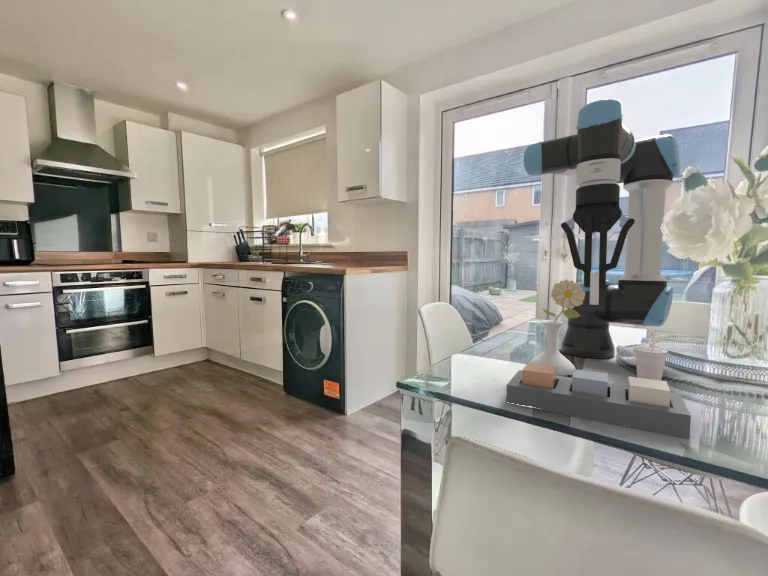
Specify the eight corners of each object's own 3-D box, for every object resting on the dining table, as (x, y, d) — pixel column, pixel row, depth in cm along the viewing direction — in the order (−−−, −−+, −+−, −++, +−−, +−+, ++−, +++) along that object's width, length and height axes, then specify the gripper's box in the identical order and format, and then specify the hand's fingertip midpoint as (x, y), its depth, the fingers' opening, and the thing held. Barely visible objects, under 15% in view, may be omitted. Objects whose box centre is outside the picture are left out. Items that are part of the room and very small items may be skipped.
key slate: (574, 392, 79) (574, 369, 78) (607, 397, 75) (607, 373, 75) (571, 401, 74) (572, 376, 73) (606, 407, 70) (607, 382, 70)
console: (518, 386, 88) (518, 370, 87) (678, 413, 72) (679, 393, 71) (506, 403, 77) (506, 384, 77) (689, 438, 62) (690, 415, 61)
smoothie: (672, 396, 80) (675, 333, 79) (639, 394, 82) (642, 332, 81) (656, 386, 87) (659, 328, 85) (626, 385, 88) (629, 327, 87)
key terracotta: (527, 384, 84) (527, 363, 83) (556, 389, 80) (556, 366, 80) (521, 392, 78) (522, 369, 78) (552, 398, 75) (553, 374, 75)
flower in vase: (524, 376, 95) (527, 280, 94) (531, 365, 105) (533, 277, 103) (582, 384, 89) (585, 281, 87) (583, 371, 99) (586, 278, 97)
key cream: (627, 400, 74) (628, 376, 73) (664, 406, 70) (666, 381, 70) (628, 411, 68) (629, 385, 68) (669, 418, 65) (670, 391, 65)
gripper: (558, 186, 73) (556, 304, 75) (638, 178, 66) (633, 308, 68) (563, 191, 79) (560, 300, 81) (636, 184, 72) (631, 303, 75)
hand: (594, 303), depth 75 cm, fingers closed
